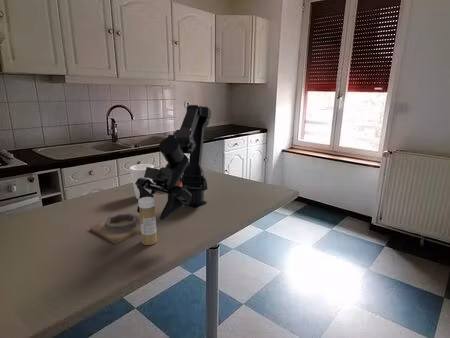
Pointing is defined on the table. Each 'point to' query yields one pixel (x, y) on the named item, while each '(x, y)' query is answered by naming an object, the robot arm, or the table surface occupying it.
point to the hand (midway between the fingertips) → (149, 215)
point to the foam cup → (139, 175)
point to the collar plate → (115, 235)
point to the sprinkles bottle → (147, 220)
